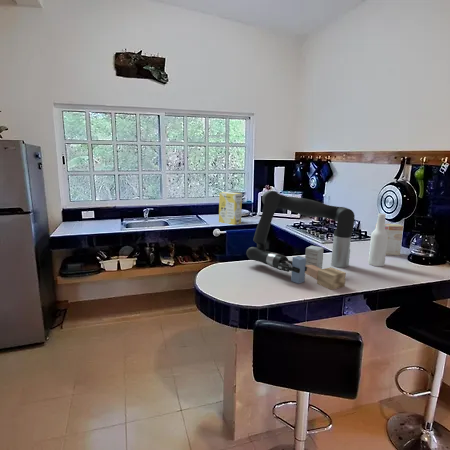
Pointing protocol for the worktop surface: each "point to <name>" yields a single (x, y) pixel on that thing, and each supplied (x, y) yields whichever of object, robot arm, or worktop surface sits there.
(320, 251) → the grey upright block
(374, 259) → the alcohol
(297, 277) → the blue post block
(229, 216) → the pasta box
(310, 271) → the terracotta block
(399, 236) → the coffeecake box
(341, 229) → the robot arm
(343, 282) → the oak base block
